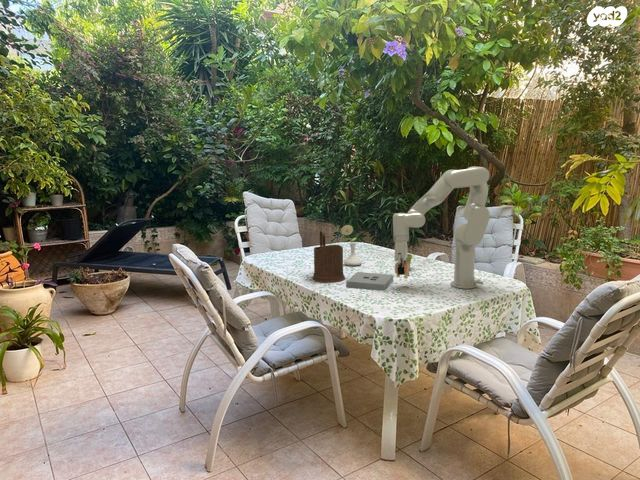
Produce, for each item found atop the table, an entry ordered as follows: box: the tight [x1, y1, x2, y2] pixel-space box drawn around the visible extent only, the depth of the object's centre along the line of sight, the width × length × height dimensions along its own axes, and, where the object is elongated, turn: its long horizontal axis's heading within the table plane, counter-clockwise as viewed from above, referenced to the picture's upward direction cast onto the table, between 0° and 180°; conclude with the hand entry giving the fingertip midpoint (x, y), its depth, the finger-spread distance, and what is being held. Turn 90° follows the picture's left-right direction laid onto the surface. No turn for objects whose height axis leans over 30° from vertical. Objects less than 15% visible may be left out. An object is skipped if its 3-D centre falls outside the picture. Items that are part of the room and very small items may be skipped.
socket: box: [345, 271, 394, 291], centre depth 233 cm, size 20×20×3 cm
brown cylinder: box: [312, 230, 346, 284], centre depth 245 cm, size 18×24×25 cm
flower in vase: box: [340, 224, 363, 267], centre depth 273 cm, size 13×11×25 cm
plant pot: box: [406, 253, 413, 270], centre depth 260 cm, size 9×9×9 cm
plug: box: [394, 261, 410, 279], centre depth 224 cm, size 6×6×7 cm
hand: (402, 272), depth 224 cm, fingers closed on plug, 6 cm apart
